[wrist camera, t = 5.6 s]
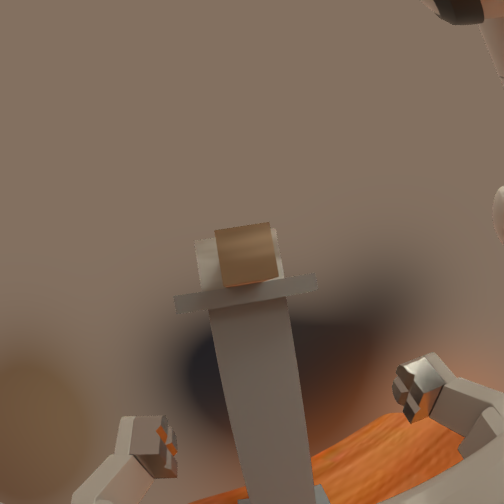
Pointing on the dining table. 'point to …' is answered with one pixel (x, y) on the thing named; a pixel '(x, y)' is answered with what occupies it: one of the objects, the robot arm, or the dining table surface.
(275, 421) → the pedestal shelf
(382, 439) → the dining table surface
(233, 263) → the mallet
